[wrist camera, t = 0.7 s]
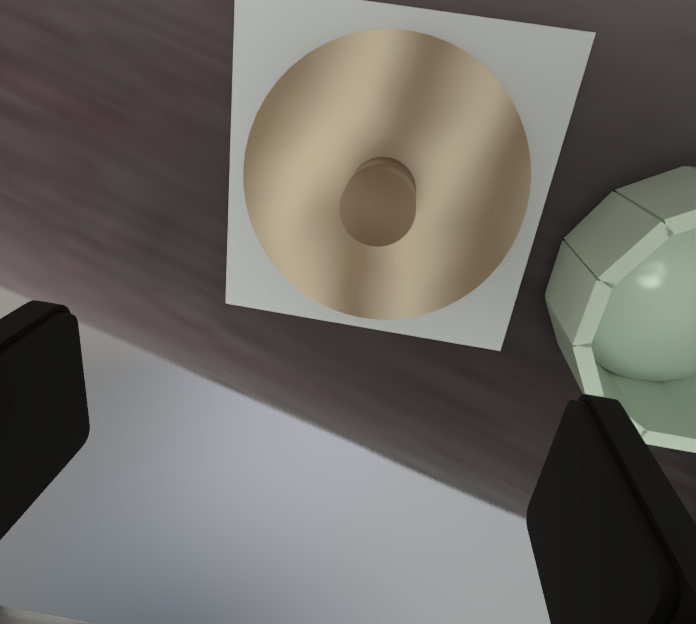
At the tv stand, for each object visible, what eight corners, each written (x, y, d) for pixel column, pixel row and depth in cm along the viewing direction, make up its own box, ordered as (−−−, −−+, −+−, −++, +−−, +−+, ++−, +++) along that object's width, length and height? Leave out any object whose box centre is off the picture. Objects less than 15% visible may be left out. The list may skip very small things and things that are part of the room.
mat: (593, 33, 24) (595, 32, 24) (499, 347, 31) (500, 351, 31) (237, -17, 25) (235, -18, 25) (227, 300, 32) (225, 303, 32)
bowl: (853, 190, 26) (969, 222, 20) (735, 402, 31) (801, 472, 26) (591, 150, 26) (636, 172, 21) (521, 365, 32) (542, 425, 26)
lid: (566, 53, 24) (599, 50, 20) (487, 333, 31) (499, 376, 26) (254, 9, 25) (221, -3, 21) (241, 291, 32) (214, 326, 27)
